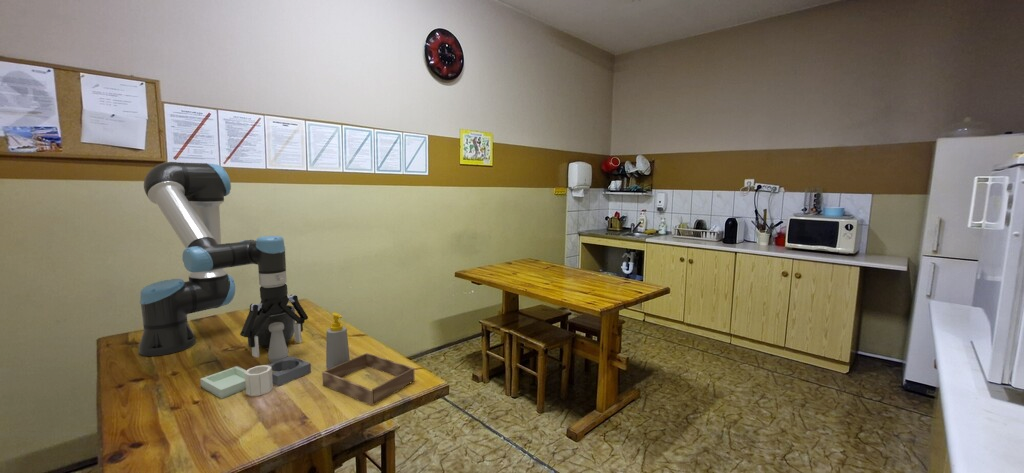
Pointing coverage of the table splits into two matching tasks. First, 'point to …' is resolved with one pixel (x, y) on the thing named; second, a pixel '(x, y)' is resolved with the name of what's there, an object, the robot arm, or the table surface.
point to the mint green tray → (225, 382)
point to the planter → (288, 322)
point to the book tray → (368, 396)
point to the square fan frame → (296, 370)
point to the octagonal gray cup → (258, 380)
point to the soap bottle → (336, 344)
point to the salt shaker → (277, 343)
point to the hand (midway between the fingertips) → (277, 348)
